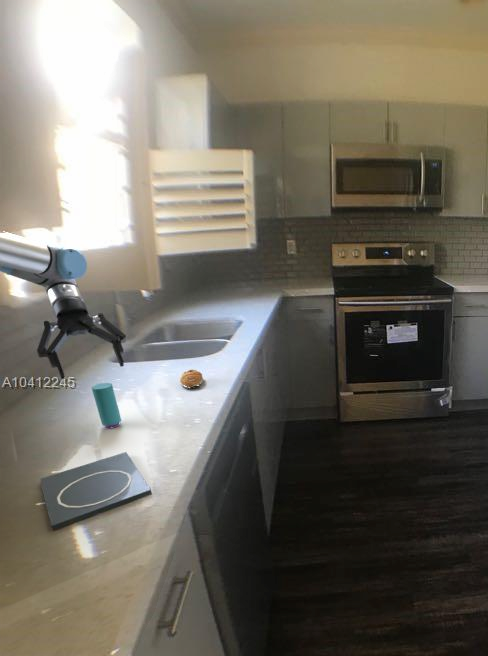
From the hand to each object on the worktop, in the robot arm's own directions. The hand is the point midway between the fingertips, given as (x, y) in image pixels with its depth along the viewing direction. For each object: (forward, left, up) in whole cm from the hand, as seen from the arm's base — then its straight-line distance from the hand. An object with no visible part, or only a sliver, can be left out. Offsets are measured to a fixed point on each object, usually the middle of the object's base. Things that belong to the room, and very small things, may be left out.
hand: (93, 370), depth 119 cm
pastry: (-7, +26, -13) cm, 30 cm away
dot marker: (+9, 0, -13) cm, 16 cm away
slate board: (+39, -9, -13) cm, 42 cm away
